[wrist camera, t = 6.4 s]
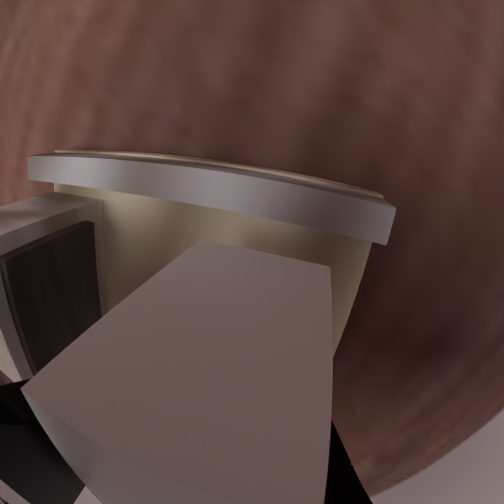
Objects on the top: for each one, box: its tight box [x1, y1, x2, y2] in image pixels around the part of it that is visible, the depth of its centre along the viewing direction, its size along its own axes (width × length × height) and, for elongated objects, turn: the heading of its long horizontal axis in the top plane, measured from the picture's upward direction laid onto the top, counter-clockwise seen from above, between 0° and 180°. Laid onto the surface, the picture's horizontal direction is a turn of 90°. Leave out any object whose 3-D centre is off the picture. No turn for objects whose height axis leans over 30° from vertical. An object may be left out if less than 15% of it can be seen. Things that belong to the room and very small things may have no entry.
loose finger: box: [21, 239, 333, 504], centre depth 7 cm, size 5×7×7 cm, turn 171°
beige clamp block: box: [0, 149, 396, 382], centre depth 10 cm, size 16×12×8 cm
